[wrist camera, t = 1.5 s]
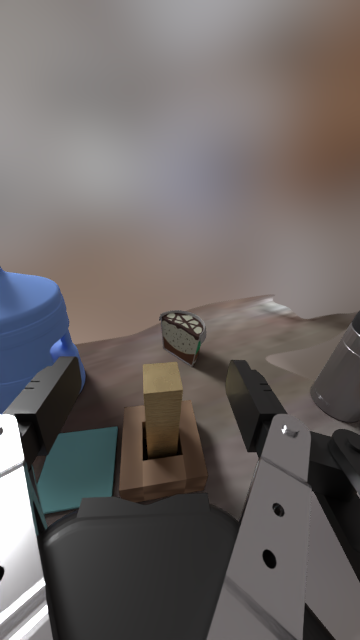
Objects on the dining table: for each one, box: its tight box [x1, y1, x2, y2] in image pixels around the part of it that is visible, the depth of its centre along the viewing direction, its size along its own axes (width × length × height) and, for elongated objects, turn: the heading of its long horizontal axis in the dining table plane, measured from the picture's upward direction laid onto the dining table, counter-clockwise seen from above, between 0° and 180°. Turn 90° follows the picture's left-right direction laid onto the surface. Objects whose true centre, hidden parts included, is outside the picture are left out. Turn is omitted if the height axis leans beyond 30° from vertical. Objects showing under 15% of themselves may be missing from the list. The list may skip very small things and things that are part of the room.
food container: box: [159, 310, 206, 367], centre depth 50 cm, size 12×6×10 cm, turn 50°
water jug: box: [0, 267, 85, 415], centre depth 34 cm, size 16×16×28 cm
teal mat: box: [37, 426, 118, 514], centre depth 31 cm, size 10×10×1 cm
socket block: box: [119, 400, 208, 503], centre depth 32 cm, size 11×11×5 cm
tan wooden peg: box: [143, 362, 183, 460], centre depth 28 cm, size 4×4×18 cm
